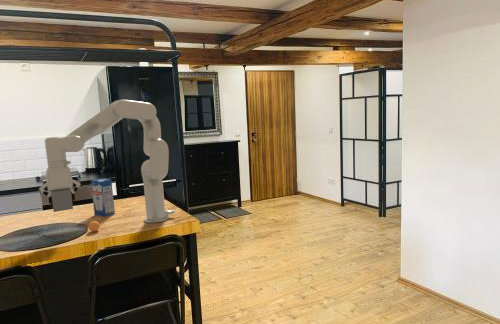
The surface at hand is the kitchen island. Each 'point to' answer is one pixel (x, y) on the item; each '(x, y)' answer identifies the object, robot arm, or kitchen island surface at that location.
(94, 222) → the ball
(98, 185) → the milk carton
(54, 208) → the gray cube
